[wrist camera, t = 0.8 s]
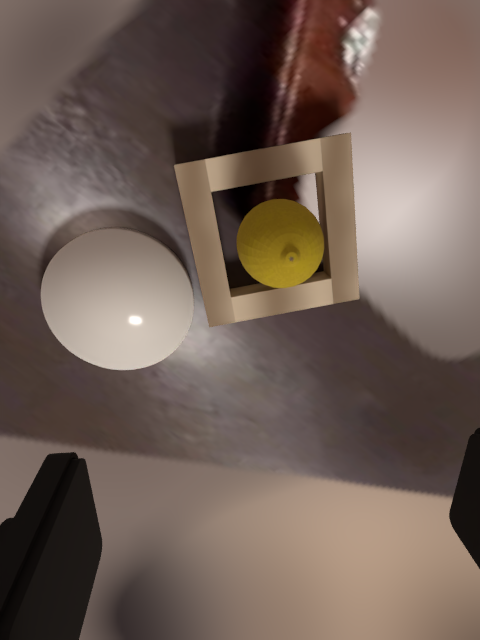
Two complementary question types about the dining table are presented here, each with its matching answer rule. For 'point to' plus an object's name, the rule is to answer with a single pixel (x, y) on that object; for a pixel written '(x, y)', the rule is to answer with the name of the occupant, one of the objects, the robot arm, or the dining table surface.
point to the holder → (335, 220)
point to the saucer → (118, 298)
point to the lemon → (280, 243)
